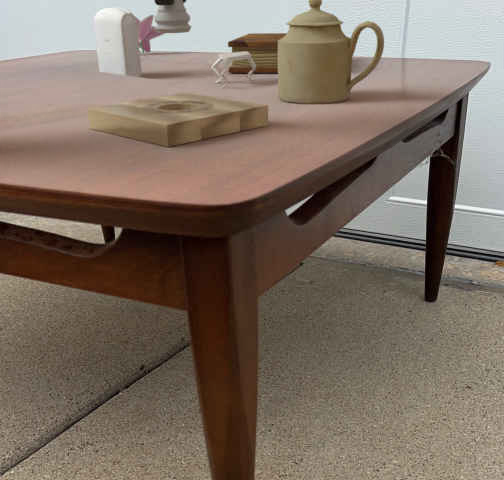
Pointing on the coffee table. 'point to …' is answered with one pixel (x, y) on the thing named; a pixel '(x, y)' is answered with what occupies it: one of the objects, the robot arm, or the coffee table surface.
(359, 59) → the coffee table surface
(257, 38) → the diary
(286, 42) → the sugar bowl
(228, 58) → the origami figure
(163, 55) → the coffee table surface
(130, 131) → the pad
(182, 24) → the rook chess piece
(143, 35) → the lily
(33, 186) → the coffee table surface
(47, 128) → the coffee table surface
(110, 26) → the tombstone
